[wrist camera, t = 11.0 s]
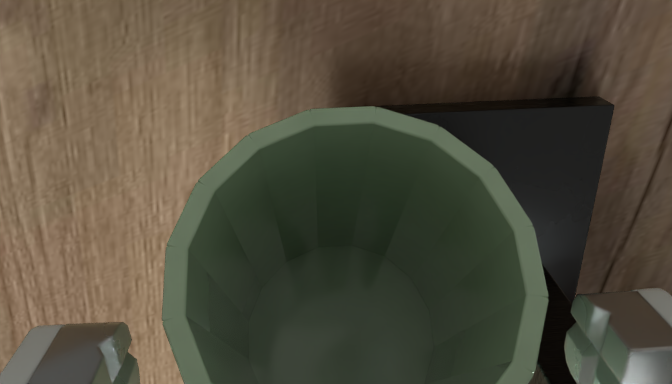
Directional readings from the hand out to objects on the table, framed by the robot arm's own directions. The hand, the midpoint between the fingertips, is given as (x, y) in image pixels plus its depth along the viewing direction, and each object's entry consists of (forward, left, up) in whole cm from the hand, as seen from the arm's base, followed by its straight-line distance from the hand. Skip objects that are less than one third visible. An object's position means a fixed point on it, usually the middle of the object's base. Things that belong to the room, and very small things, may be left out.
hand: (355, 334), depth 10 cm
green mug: (+6, 0, -5) cm, 8 cm away
